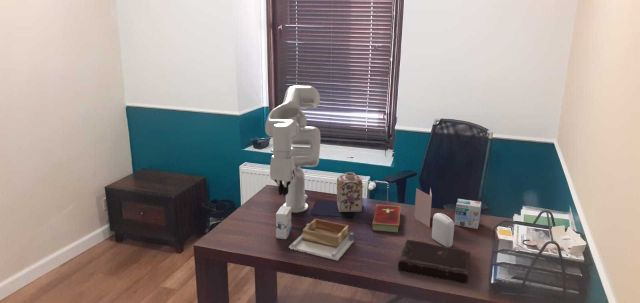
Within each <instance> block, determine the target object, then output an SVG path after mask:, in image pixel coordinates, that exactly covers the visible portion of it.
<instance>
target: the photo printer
mask: <svg viewBox="0 0 640 303" xmlns="http://www.w3.org/2000/svg"><path fill="white" fill-rule="evenodd" d="M454 222H455V221H454V220H453V219H451V218H450V217H449V216H448V215H446V214H444V213H441V212H437V213H434V215H433V218H432V226H431V227H432V228H431V229H432V230H431V239H433V240H435V241H436V242H437V243H439V244H440V245H441V246H444V247H450V248H452V245H453V244H454V233H455V232H454V231H455V225H454Z"/></svg>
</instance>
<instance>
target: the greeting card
mask: <svg viewBox="0 0 640 303" xmlns="http://www.w3.org/2000/svg"><path fill="white" fill-rule="evenodd" d="M415 189H416V190H415V201H414V202H415V203H414V215H413V216H414V217H413V218H414V219H415V220H417V221H419V222H421V223H422V224H424V225H425V226H427V227H428V228H430V227H431V226H430V225H431V215H432V214H431V212H432V204H433V201H434V196H433V192H432V189H431V187H430V188H429V189H430V190H429V194H428V193H426V192H424V191H422V190H420V189H419V188H417V187H416V188H415Z"/></svg>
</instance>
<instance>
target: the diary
mask: <svg viewBox="0 0 640 303" xmlns="http://www.w3.org/2000/svg"><path fill="white" fill-rule="evenodd" d="M400 253H401V254H400V256H399V259H398V264H397V271H401V272H404V271H406V272H405V273H411V274H415V273H416V274H417V275H420V274H422V276H425V275H427V276H426V277H430V276H432V277H431V278H436V277H438V278H437V279H441V278H443V279H442V280H447V279H448V281H452V280H453V282H458V283H462V284H468V277H469V269H470V259H471V250H467V249H460V248H455V247H446V246H444V245H437V244H435V243H434V244H433V243H429V242H426V241H419V240H413V239H409V238H408V239H406V240H405V243H404V244H403V248H402V251H401V252H400Z"/></svg>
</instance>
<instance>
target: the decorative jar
mask: <svg viewBox="0 0 640 303" xmlns="http://www.w3.org/2000/svg"><path fill="white" fill-rule="evenodd" d="M363 186H364V185H363V179H362V177H361V176H360V175H358V174H355V172H351V171H349V172H345V174H341V175H339V176H337V179H336V205H337V208H338V212H339V213H354V212H356V213H357V212H359V213H360V212H362V211H363V194H364V193H363V190H364V189H363Z"/></svg>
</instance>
